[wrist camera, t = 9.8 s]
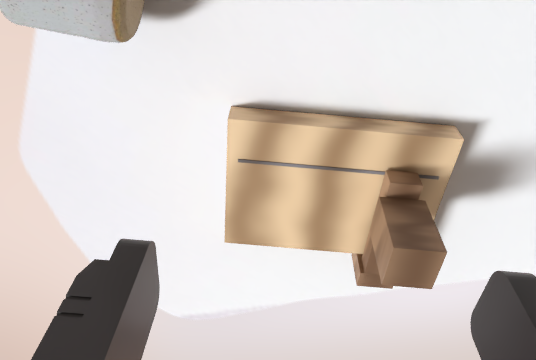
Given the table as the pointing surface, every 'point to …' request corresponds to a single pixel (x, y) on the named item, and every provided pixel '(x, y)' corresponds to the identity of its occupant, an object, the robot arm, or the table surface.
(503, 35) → the table surface
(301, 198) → the oak board
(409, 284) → the marking gauge
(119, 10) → the ceramic mug
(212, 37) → the table surface
